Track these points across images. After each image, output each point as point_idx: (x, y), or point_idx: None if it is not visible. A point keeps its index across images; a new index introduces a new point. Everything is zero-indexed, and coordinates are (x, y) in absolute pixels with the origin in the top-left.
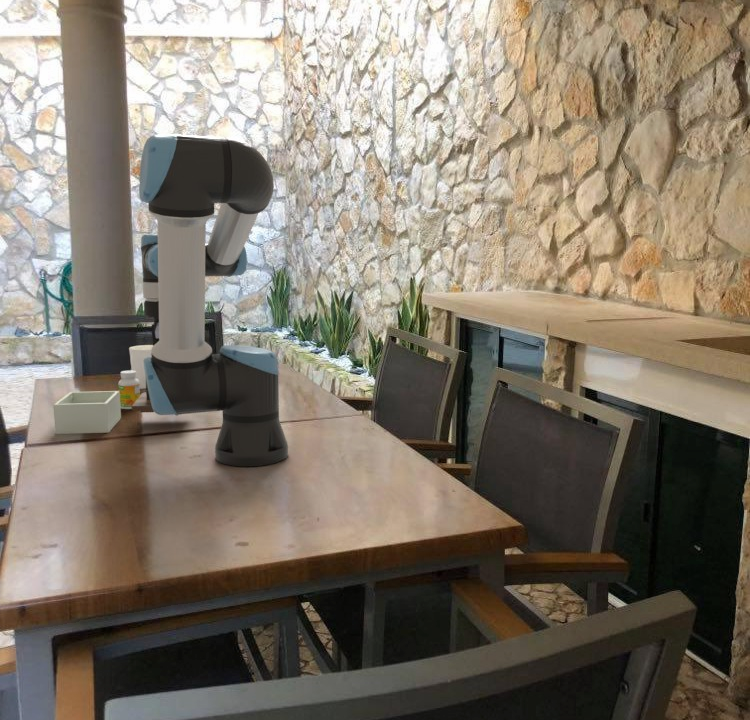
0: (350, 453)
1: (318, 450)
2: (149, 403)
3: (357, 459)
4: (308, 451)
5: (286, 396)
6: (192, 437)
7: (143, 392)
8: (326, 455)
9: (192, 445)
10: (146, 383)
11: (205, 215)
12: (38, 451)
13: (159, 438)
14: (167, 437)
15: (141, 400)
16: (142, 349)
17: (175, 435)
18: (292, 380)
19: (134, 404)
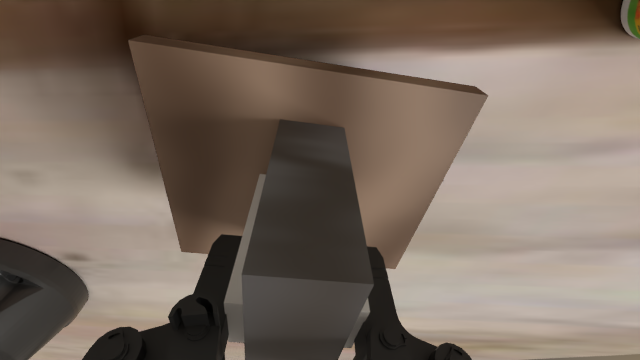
0: (81, 353)
1: (86, 335)
2: (200, 133)
3: (53, 354)
4: (77, 328)
5: (464, 333)
6: (138, 197)
7: (483, 99)
8: (61, 338)
9: (57, 195)
10: (266, 175)
11: None
12: None
13: (111, 118)
14: (127, 140)
15: (275, 93)
16: None
17: (154, 160)
18: (590, 346)
19: (171, 56)
